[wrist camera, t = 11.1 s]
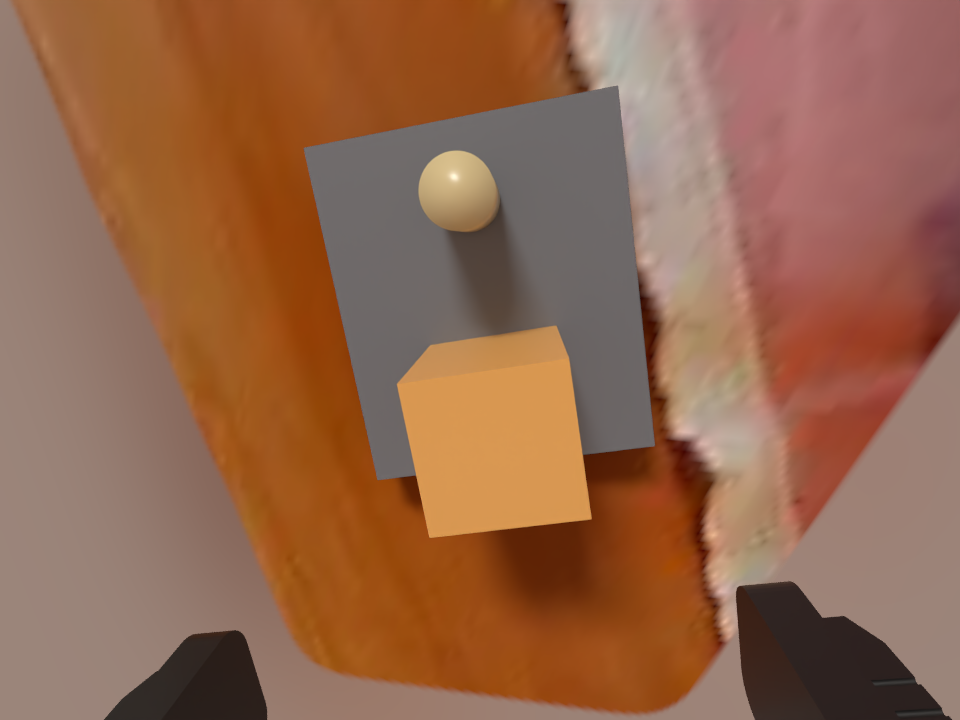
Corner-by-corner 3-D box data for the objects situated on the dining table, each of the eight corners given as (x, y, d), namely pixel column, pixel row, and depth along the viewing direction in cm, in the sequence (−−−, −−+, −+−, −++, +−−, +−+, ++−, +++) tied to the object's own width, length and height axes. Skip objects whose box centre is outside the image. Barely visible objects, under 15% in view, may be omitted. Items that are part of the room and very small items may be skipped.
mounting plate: (607, 102, 22) (642, 46, 15) (641, 425, 24) (683, 490, 18) (326, 157, 23) (252, 127, 17) (391, 457, 26) (348, 528, 20)
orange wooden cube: (556, 325, 21) (569, 358, 15) (573, 445, 22) (591, 519, 17) (430, 345, 22) (396, 384, 16) (453, 461, 23) (429, 537, 17)
